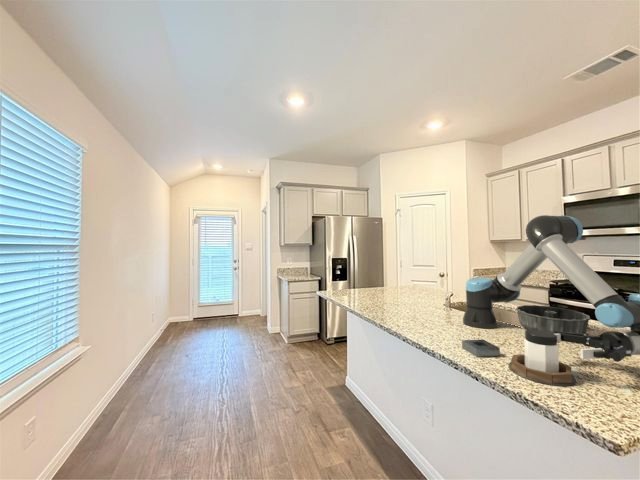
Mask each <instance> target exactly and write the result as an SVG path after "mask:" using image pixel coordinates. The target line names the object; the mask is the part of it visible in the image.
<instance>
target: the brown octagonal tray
mask: <svg viewBox="0 0 640 480" xmlns="http://www.w3.org/2000/svg"><path fill="white" fill-rule="evenodd" d="M508 368H509V370H510V371H511V372H512V373H514V374H515V375H517V376H519V377H521V378H523V379H525V380H529V381H532V382H535V383H539V384H542V385H547V386H555V387H571V386H574V385H575V384H577V377H575V375H574V374H572V373H573V372H572V367H571V366H570V365H567V364H566V363H563V362H561V361H559V373H548V372H544V371H539V370H535V369H530V368H528V367H526V366H525V353H522V354H520V353H519V354H513V355H512V357H511V360H510V362H509V363H508Z"/></svg>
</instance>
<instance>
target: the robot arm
mask: <svg viewBox="0 0 640 480" xmlns="http://www.w3.org/2000/svg"><path fill="white" fill-rule="evenodd" d="M583 234H584V229H583V224H582V223H581V221H580V220H579V219H577V218H576V217H573V216H568V215H547V214H546V215H538V216H535V217H534V218H532V219H531V220H529V222H528V223H527V224H526V227H525V235H526V237H527V240H528V242H529V243H530V244H528V246H527V247H526V248H525V249H524V250H523V252H521V254H519V256H518V257H517V258H516V259H515V260H514V262H513V263H511V265H509V267H508V268H507V269H506V270H505V272H502V273H498V274H497V275H496V276H495V277H494V279H491V278H489V277H473V278H469V279H468V280H467V281H466V283H465V285H466V286H465V295H466V296H465V298H466V299H465V300H466V301H465V302H466V303H465V304H466V309H465V312H464V314H463V317H462V323H463V324H464V325H467V326H469V327H472V328H479V329H494V328H498V321H497V319H496V317H495V314H494V310H493V304H496V303H497V304H498V303H511V302H514V301H516V300H517V299H518V298H519V297H520V295H521V292H520V291H521V290H522V283H524V282H525V280H527V279H528V277H530V275H532V274H533V272H535V271H536V269H538V268H539V266H541V264H543V262H544V261H546V260H547V259H549V261H551V262H552V263H553V264H554V267H555V266H556V267H557V269H558V270H559V271H560V272H561V273H562V274H563V275H564V276H565V277H566V278H567V280H569V281H570V283H571V284H572V285H573V286H574V287H575V288H576V289H577V290H578V291H579V292H580V293H581V295H583V296H584V298H586V299H587V301H588V302H589V303H590V304H591V305H592V306H593V307H594V308H595V311H594V314H595V318H596V319H597V321H598V322H599V323H601V324H602V325H603V326H605V327H609V328H619V329H620V328H621V329H623V328H628V327H630V330H617V331H614V330H613V331H612V330H611V331H604V332H602V333H601V334H600V335H589V333H587V332H586V333H570V332H559V331H554V334H555V335H556V336H557V344H558V343H559V344H560V343H561V342H566V343H572V344H578V345H579V344H580V345H583V347H589V348H580V349H579V352H580V355H579V356H580V359H582V360H588V359H589V360H590V359H592V360H593V359H606V360H611V359H612V361H614V362H617V363H618V362H620V361H622V360H624V359H625V358H626V357H632V356H640V293H631V294H629V296H628V300H627V301H626V300H625V299H624V298H623V297H622V296H621V295H619V294H618V292H616V291H615V290H614V289H613V288H612V287H611V285H609V284H608V283H607V281H605V280H604V279H603V278H602V277H601V276H600V275H599V274H598V273H596V272H595V270H594V269H592V267H591V266H590V265H588V264H587V262H585V261H584V260H583V259H582V258H581V257H580V256H579V255H578V254H577V253H576V251H574V250H573V249H572V248H571V247H570V246H569V245H568V244H573V243H575V242H578V241H579V240H580V239H581V238H582V237H583ZM587 342H588V343H587Z"/></svg>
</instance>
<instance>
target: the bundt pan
mask: <svg viewBox="0 0 640 480" xmlns="http://www.w3.org/2000/svg"><path fill="white" fill-rule="evenodd" d="M515 309H516V311H517V316H518V321H519V323H520V325H521V326H522V327H523V328H524V329H525V331H526V330H541V331H546V332H550V333H553V334H554V331H559V332H570V333H587V329H588V325H589V321H591V316H590V315H588V314H585V313H584V312H580V311H577V310H573V309H567V308H566V309H565V308H563V307H555V306H549V305H535V304H531V305H529V304H524V305H519V306H517V307H515Z"/></svg>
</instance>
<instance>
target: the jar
mask: <svg viewBox="0 0 640 480" xmlns="http://www.w3.org/2000/svg"><path fill="white" fill-rule="evenodd" d="M524 336H525V337H524V338H523V339H524V343H523V344H524V346H523V347H524V354H525V366H526V367H528V368H530V369H535V370H539V371H544V372H548V373H559V362H560V359H559V356H560V355H559V345H558V342H557V336H556V335H555V334H553V333H550V332H546V331H541V330H526V329H525V331H524Z"/></svg>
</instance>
